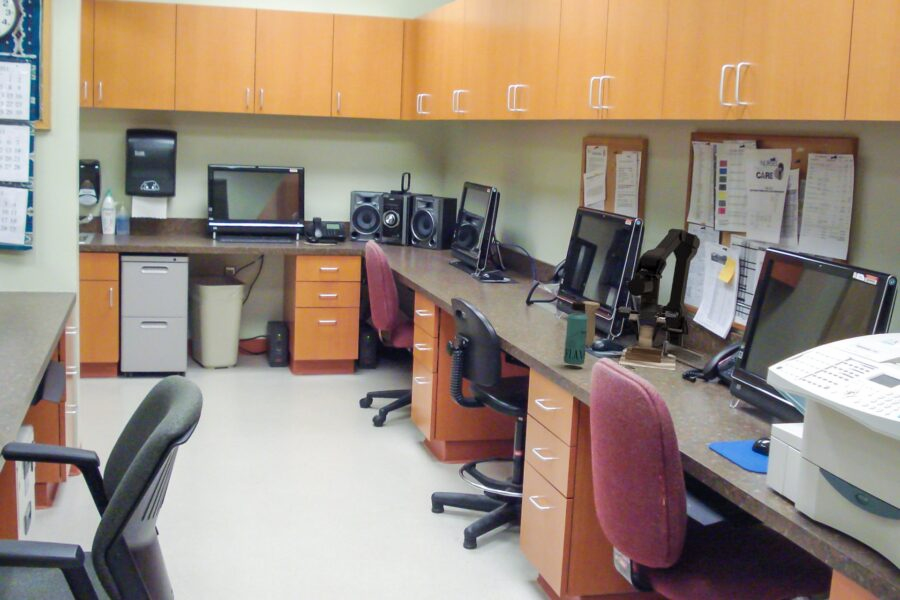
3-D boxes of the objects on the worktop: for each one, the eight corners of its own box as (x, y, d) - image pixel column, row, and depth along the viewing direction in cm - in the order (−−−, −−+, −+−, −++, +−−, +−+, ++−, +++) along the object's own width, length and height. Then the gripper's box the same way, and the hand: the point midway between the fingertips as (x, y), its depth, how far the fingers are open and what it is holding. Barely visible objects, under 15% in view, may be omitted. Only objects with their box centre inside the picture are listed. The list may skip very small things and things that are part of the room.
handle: (588, 344, 332) (592, 301, 329) (598, 348, 326) (602, 304, 323) (576, 345, 330) (580, 301, 327) (586, 349, 324) (589, 304, 321)
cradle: (623, 352, 322) (623, 343, 322) (675, 358, 318) (676, 349, 318) (618, 366, 301) (619, 357, 300) (674, 373, 297) (675, 363, 297)
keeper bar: (661, 354, 317) (662, 340, 316) (666, 354, 317) (667, 340, 317) (699, 369, 298) (700, 355, 297) (704, 369, 299) (705, 355, 298)
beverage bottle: (560, 367, 295) (565, 302, 292) (566, 363, 301) (571, 299, 298) (581, 370, 293) (586, 305, 290) (586, 366, 299) (592, 302, 296)
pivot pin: (638, 344, 315) (639, 325, 314) (652, 346, 314) (653, 326, 313) (637, 347, 311) (639, 327, 309) (651, 348, 310) (653, 328, 308)
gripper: (618, 294, 304) (613, 343, 306) (679, 299, 299) (674, 349, 302) (620, 289, 314) (616, 336, 317) (680, 294, 310) (675, 342, 313)
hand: (645, 341), depth 312 cm, fingers closed on pivot pin, 4 cm apart
